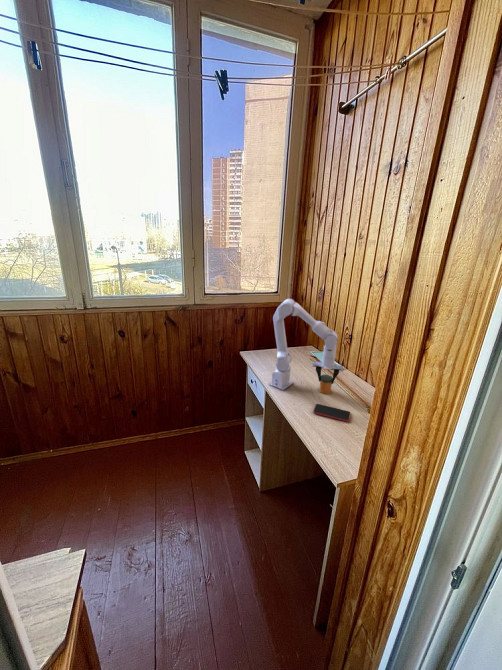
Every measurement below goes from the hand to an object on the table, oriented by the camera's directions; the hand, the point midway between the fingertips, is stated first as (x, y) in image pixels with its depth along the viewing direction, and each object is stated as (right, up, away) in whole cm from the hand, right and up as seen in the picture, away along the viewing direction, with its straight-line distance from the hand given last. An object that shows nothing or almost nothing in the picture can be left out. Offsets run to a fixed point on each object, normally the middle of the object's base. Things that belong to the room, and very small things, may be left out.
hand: (325, 381), depth 144 cm
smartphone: (-2, -11, -16) cm, 20 cm away
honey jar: (0, -5, +2) cm, 5 cm away
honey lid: (0, +2, -1) cm, 2 cm away
